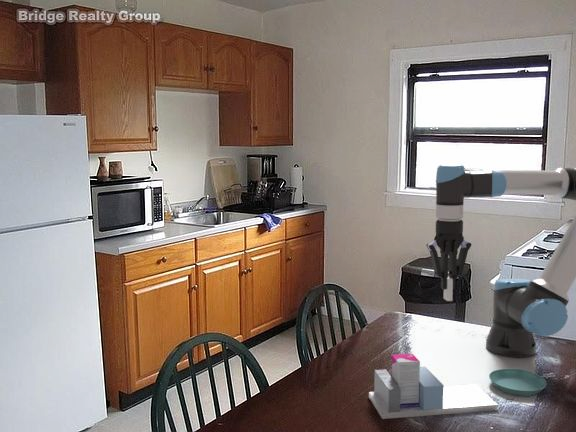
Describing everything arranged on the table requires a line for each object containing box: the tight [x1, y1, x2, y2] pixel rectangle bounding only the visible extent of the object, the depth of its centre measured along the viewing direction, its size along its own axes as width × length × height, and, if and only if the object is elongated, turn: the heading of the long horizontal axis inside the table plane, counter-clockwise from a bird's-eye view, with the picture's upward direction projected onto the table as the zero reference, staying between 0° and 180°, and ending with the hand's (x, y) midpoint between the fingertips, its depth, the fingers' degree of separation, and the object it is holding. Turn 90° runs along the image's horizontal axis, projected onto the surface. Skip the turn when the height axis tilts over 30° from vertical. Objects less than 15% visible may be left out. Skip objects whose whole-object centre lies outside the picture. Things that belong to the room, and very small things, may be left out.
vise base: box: [368, 368, 499, 420], centre depth 150 cm, size 30×12×8 cm, turn 98°
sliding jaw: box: [419, 366, 445, 410], centre depth 149 cm, size 5×12×6 cm, turn 8°
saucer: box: [488, 368, 548, 397], centre depth 160 cm, size 15×15×3 cm
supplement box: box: [391, 353, 421, 406], centre depth 148 cm, size 6×6×12 cm
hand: (447, 299), depth 168 cm, fingers closed
